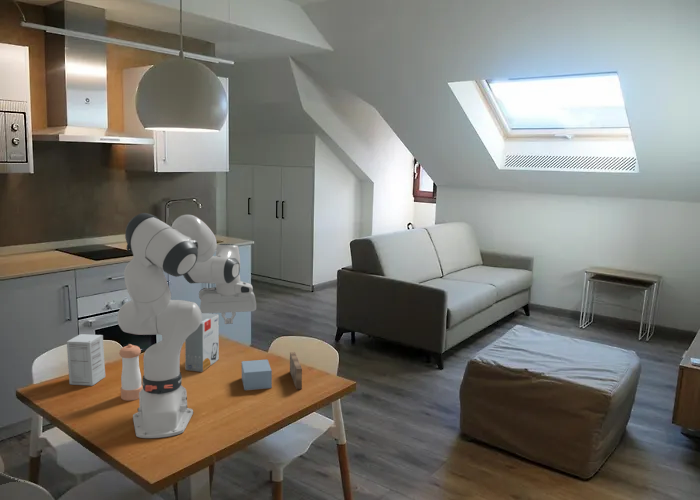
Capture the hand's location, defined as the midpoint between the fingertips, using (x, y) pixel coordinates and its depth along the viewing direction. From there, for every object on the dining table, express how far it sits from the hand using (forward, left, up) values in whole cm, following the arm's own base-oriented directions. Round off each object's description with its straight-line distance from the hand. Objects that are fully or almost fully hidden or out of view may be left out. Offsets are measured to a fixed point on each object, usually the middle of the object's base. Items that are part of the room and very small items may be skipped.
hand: (228, 323), depth 208 cm
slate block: (0, -10, -24) cm, 26 cm away
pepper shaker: (-4, +34, -24) cm, 42 cm away
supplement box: (+14, +52, -24) cm, 59 cm away
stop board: (0, -25, -24) cm, 35 cm away
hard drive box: (+23, +10, -24) cm, 35 cm away
